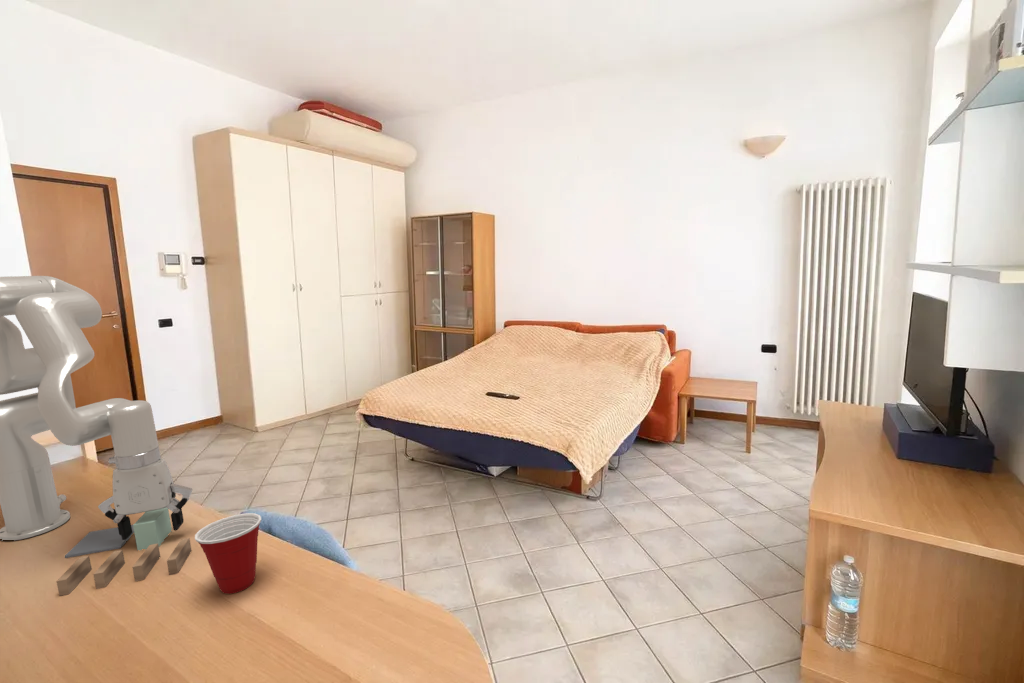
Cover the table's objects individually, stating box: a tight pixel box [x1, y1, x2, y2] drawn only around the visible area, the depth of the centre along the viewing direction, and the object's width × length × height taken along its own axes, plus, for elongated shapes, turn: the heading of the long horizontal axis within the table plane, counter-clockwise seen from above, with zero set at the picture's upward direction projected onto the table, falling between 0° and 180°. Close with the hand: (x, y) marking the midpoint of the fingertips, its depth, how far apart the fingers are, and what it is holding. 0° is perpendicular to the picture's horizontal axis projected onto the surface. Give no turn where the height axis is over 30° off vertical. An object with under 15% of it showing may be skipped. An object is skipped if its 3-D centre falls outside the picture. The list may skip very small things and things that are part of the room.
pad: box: [64, 524, 135, 559], centre depth 110 cm, size 10×10×1 cm
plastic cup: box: [194, 512, 262, 595], centre depth 91 cm, size 11×11×12 cm
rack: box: [56, 537, 193, 597], centre depth 98 cm, size 8×19×3 cm, turn 106°
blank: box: [132, 508, 173, 551], centre depth 109 cm, size 7×4×6 cm, turn 15°
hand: (153, 532), depth 108 cm, fingers open, 9 cm apart
